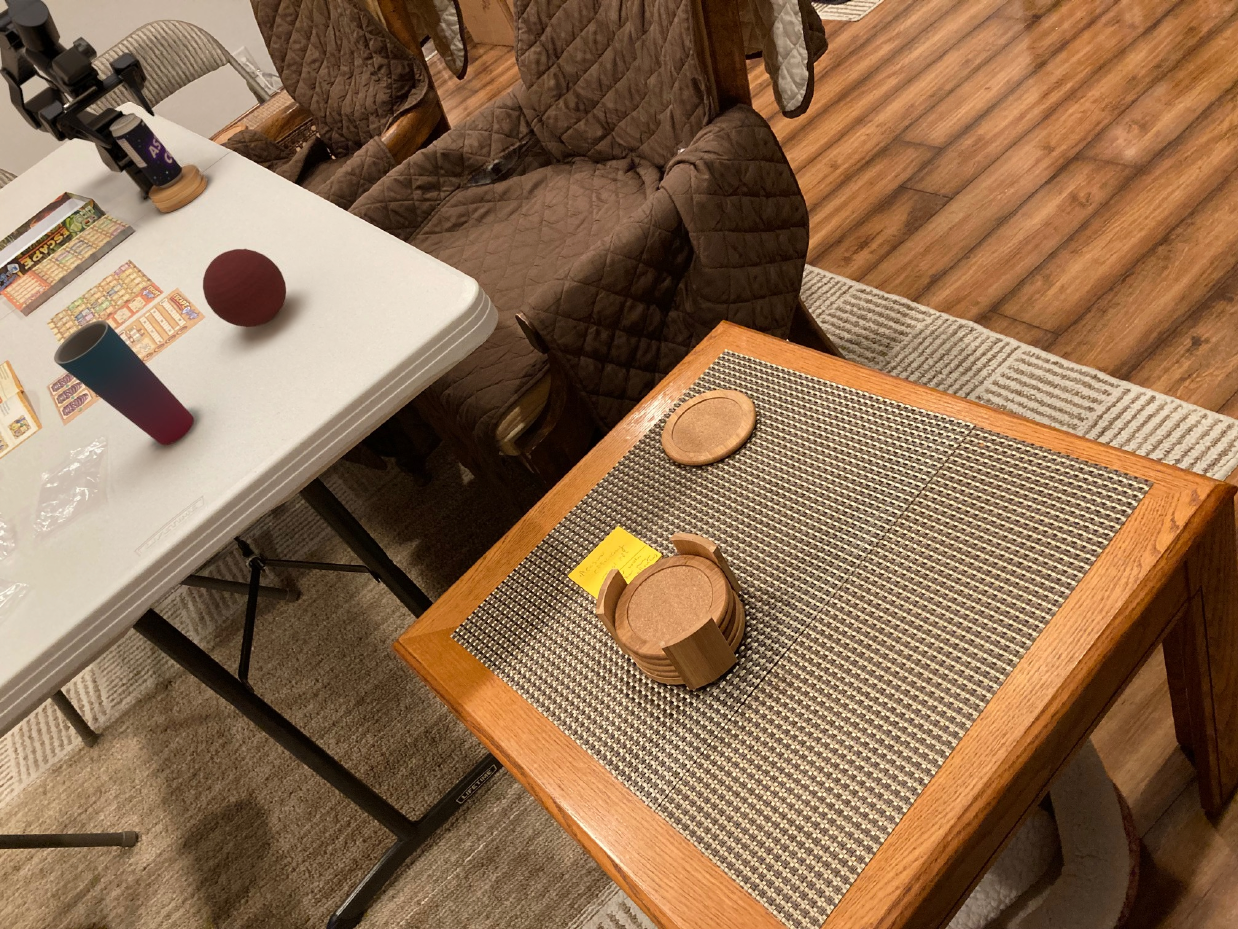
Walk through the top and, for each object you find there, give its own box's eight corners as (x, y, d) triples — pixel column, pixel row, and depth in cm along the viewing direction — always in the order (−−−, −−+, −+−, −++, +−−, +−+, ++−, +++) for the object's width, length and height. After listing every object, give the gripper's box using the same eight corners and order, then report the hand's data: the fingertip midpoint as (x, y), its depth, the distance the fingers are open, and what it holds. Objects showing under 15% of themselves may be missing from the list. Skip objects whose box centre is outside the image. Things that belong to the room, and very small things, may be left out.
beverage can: (178, 185, 153) (128, 124, 145) (153, 194, 155) (102, 134, 147) (190, 167, 157) (141, 107, 149) (165, 176, 159) (116, 117, 150)
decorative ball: (231, 353, 114) (178, 295, 107) (241, 309, 121) (192, 252, 114) (298, 324, 112) (248, 263, 105) (304, 281, 119) (258, 222, 112)
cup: (160, 418, 109) (66, 332, 99) (205, 401, 108) (115, 312, 98) (145, 457, 105) (44, 371, 94) (192, 440, 103) (96, 350, 93)
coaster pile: (157, 201, 161) (145, 187, 159) (203, 172, 162) (192, 158, 160) (162, 219, 154) (150, 205, 152) (211, 189, 155) (199, 174, 153)
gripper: (-6, 67, 136) (70, 135, 137) (91, 3, 142) (163, 69, 143) (22, 109, 147) (93, 172, 148) (112, 48, 153) (179, 109, 154)
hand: (132, 130), depth 148 cm, fingers open, 9 cm apart
